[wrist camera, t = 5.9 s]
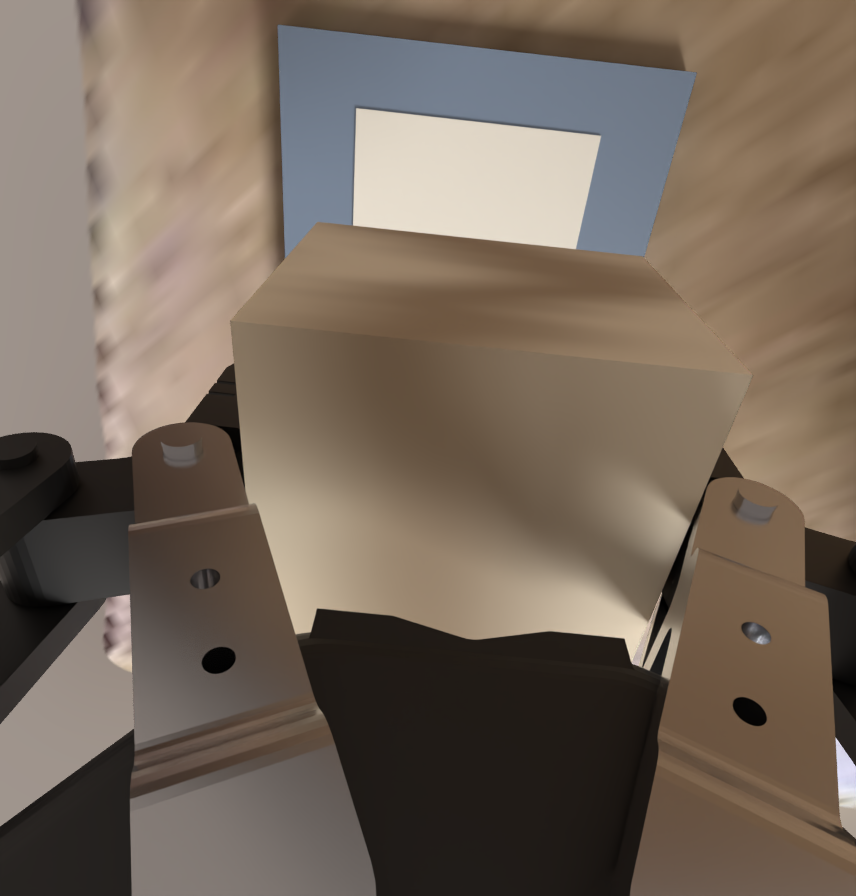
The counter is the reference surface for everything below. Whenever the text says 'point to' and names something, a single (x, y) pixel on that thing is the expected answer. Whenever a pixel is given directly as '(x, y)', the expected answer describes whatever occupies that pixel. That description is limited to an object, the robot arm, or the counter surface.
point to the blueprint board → (473, 141)
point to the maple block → (476, 430)
